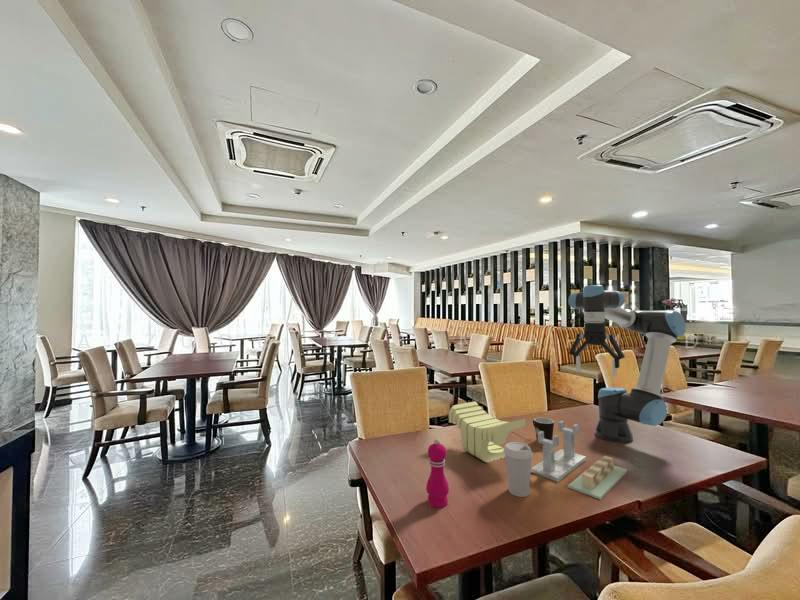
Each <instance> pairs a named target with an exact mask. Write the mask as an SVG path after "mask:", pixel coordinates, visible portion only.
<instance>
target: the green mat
mask: <svg viewBox="0 0 800 600" xmlns="http://www.w3.org/2000/svg"><path fill="white" fill-rule="evenodd" d="M598 461H599V460H597V461H596V462H598ZM594 464H595V463H593V464H592V465H591V466H590V467H592V466H593V465H594ZM588 469H589V468H587V469H586V470H585V471H587V470H588ZM583 473H584V472H582V473H581V474H580V475H579V476H577V477H576V478H575V479H574V480H572V482H570V483H569V484H568V485H567V487H568V488H569V489H571V490H574V491H576V492H579V493H581V494H584V495H588V496H590V497H592V498H595V499H598V500H599V501H602V499H603V498H604V497H605V496H606V495H607V493H609V492H610V490H612V488H613V487H614V486H615V485H616V484H617V483H618V482H619V481H621V479H622V478H624V476H625V474H627V473H628V469H626V468H623V467H620V466H618V465H614V469H613V470H612V471H611V472H610V473H609V474H608V475H607V476H606V477H605V478H604V479H603V480H602V481H601V482H600V483H598V484H597V485H596V486H595V487H594V488H593V489H589V488H586V487H584V486H583V485H582V474H583Z"/></svg>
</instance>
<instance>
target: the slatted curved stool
mask: <svg viewBox="0 0 800 600" xmlns="http://www.w3.org/2000/svg"><path fill="white" fill-rule="evenodd" d="M526 422H527V418H522V419H519V420H514V421H502V420H500V419H498V418H495V417H494V416H492V415H490V414H489V413H487V411H486V410H483V407H481V406H480V405H479V404H478V403H477V401H469V402H465V403H459V404H455V405H452V406H451V407H450V409H449V410H448V423H450V424H454V425H456V427H458V429H459V430H460V436H461V442H462V448H463V450H464V451H465V452H467V453H469V454H471V455H472V456H474V457H476V458H477V459H479V460H481V461H482V462H485V463H490V461H491V462H494V461H493V460H495V461H498V460H501V459H500V458H502V459H504V457H505V454H504V452H503V450H504V447H502V446H501V445H504V444H506V440H507V437H508V435H509V434H511V432H513V431H514V430H518V429H519V428H522V427H526V426H527V423H526ZM497 459H498V460H497Z"/></svg>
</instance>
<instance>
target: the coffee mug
mask: <svg viewBox="0 0 800 600" xmlns="http://www.w3.org/2000/svg"><path fill="white" fill-rule="evenodd" d="M532 424H533V427H534V429H535V431H534V432H535V436H536V442H537V443H538V444H539V442H538V432H540V431H543V432H544V438H545V439H548V440H552V437H553V436H554V424H555V421H554V420H553V419H552V418H548V417H535V418H533V420H532ZM540 445H543V444H542V443H540Z"/></svg>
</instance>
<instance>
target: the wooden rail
mask: <svg viewBox="0 0 800 600" xmlns="http://www.w3.org/2000/svg"><path fill="white" fill-rule="evenodd" d="M597 461H598V462H597ZM597 461H596V462H594V463H593V464H594V465H593V464H592V465H593V466H592V465H591V466H592V467H591V466H590V467H589V468H587V469H588V470H587V469H586V470H587V471H586V470H585V471H584V472H582V473H583V474H582V473H581V474H582V485H583V486H584V487H586V488H589V489H593V488H594V487H595V486H596V485H597V484H598V483H600V482H601V481H602V480H603V479H604V478H605V477H606V476H607V475H608V474H609V473H610V472H611V471H612V470H613V469H614V466H615V464H614V461H615V460H614V457H611V456H608V455H604V456H603V457H601V458H600V459H599V460H597Z"/></svg>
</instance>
